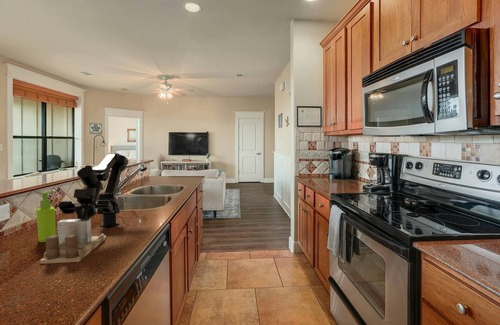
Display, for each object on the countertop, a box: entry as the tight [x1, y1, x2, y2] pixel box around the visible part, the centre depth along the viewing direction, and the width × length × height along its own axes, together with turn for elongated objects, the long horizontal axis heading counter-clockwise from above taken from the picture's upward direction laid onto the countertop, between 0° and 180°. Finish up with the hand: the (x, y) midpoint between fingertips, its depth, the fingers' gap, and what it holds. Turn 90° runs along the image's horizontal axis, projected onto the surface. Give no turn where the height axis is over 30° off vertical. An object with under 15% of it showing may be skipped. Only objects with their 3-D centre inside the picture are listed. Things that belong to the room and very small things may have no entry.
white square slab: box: [56, 218, 92, 249], centre depth 97 cm, size 3×10×10 cm, turn 97°
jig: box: [39, 233, 107, 265], centre depth 98 cm, size 22×12×8 cm, turn 7°
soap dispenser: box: [36, 190, 57, 243], centre depth 108 cm, size 6×7×20 cm
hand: (79, 225), depth 100 cm, fingers closed
